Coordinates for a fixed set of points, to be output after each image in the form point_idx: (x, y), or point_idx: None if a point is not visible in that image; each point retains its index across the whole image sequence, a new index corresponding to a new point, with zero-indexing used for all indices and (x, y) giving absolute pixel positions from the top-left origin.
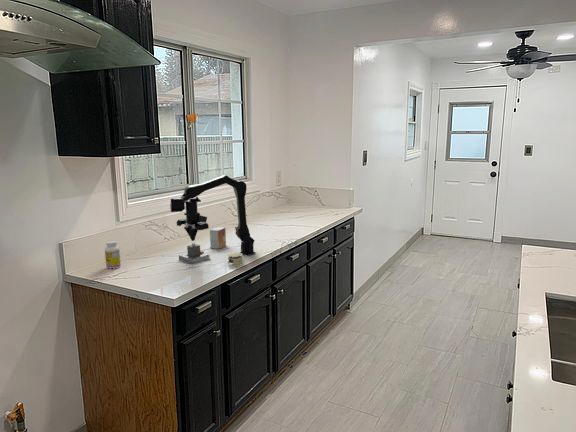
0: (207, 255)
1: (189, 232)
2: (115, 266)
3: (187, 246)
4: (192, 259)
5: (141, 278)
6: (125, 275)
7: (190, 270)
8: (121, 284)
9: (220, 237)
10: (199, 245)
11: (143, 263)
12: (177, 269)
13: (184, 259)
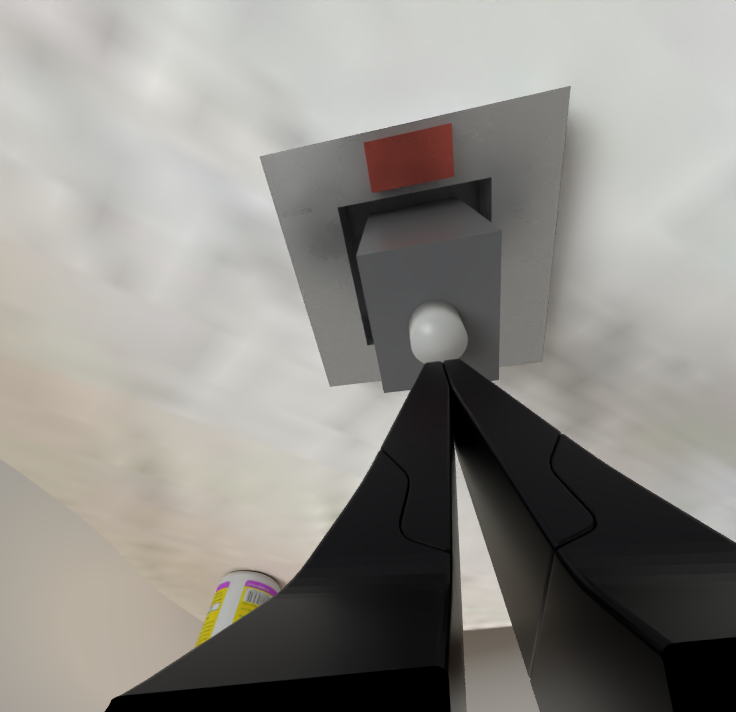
0: (561, 131)
1: (462, 630)
2: None
3: (388, 388)
4: (539, 360)
5: (487, 579)
6: None
7: (628, 416)
8: (485, 621)
9: None
10: (501, 242)
11: (268, 511)
12: None
13: None
